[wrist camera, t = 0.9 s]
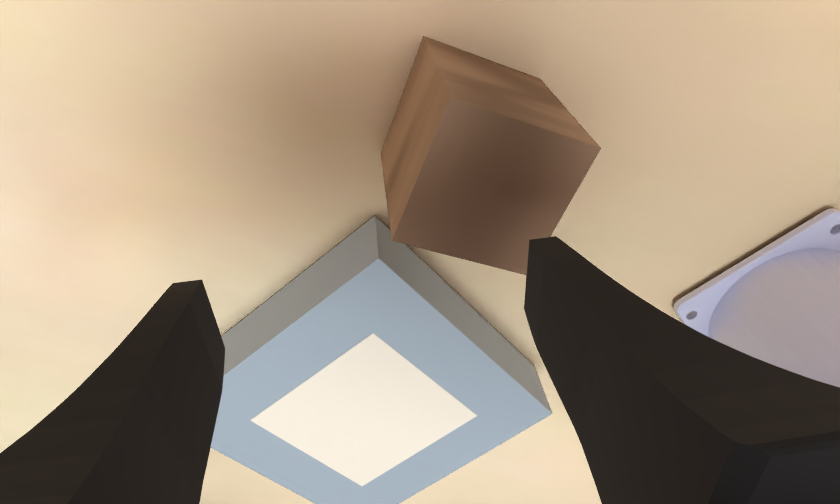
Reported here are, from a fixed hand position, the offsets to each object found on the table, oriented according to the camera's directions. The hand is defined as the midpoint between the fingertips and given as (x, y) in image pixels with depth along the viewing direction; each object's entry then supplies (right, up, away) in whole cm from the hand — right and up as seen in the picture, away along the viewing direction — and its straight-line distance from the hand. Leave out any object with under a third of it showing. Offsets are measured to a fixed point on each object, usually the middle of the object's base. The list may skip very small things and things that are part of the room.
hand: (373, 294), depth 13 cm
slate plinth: (-2, -5, +15) cm, 16 cm away
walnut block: (+2, +6, +8) cm, 11 cm away
